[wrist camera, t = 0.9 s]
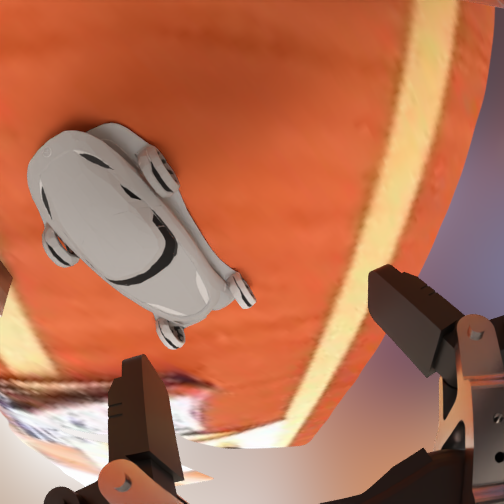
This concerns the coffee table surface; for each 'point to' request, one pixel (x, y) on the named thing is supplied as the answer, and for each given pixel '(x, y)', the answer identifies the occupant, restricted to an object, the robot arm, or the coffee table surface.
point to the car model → (130, 226)
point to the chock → (4, 286)
